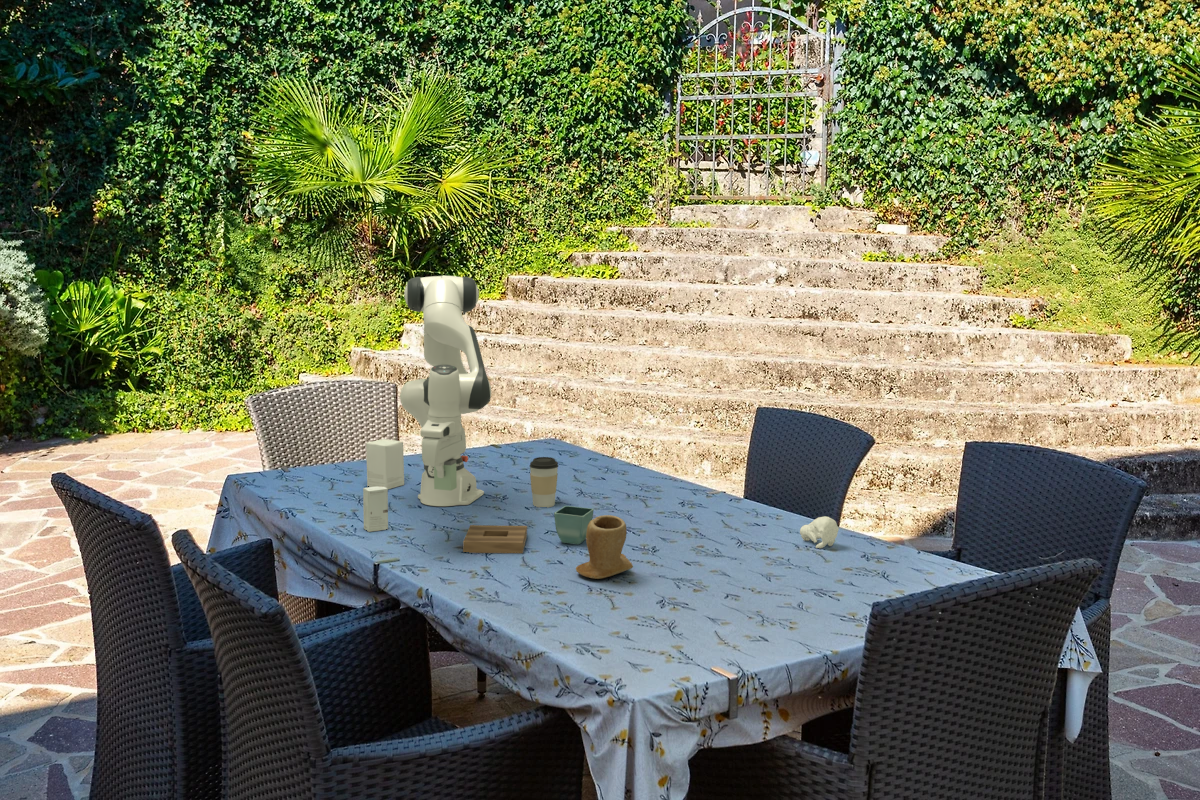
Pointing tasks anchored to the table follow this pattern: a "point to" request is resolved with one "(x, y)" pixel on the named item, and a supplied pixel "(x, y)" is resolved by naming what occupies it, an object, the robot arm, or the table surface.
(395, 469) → the supplement box
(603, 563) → the stone cup
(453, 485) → the keyed peg
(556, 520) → the flower pot
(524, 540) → the walnut slot block
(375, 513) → the skincare box
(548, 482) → the coffee cup
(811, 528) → the cream animal figurine
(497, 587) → the table surface
